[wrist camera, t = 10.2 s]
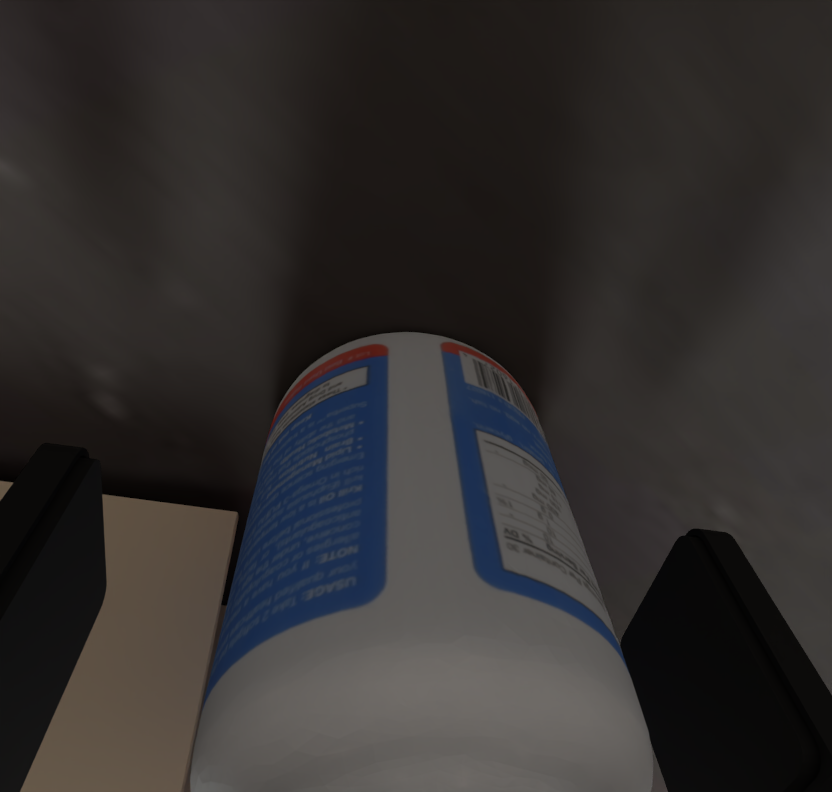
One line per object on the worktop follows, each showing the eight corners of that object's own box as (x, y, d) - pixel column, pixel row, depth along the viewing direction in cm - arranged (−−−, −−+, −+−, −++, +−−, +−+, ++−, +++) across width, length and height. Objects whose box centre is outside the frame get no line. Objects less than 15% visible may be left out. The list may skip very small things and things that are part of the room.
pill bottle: (284, 539, 15) (152, 1230, 7) (258, 322, 12) (-26, 1055, 4) (526, 538, 15) (685, 1207, 7) (557, 323, 12) (892, 1024, 4)
